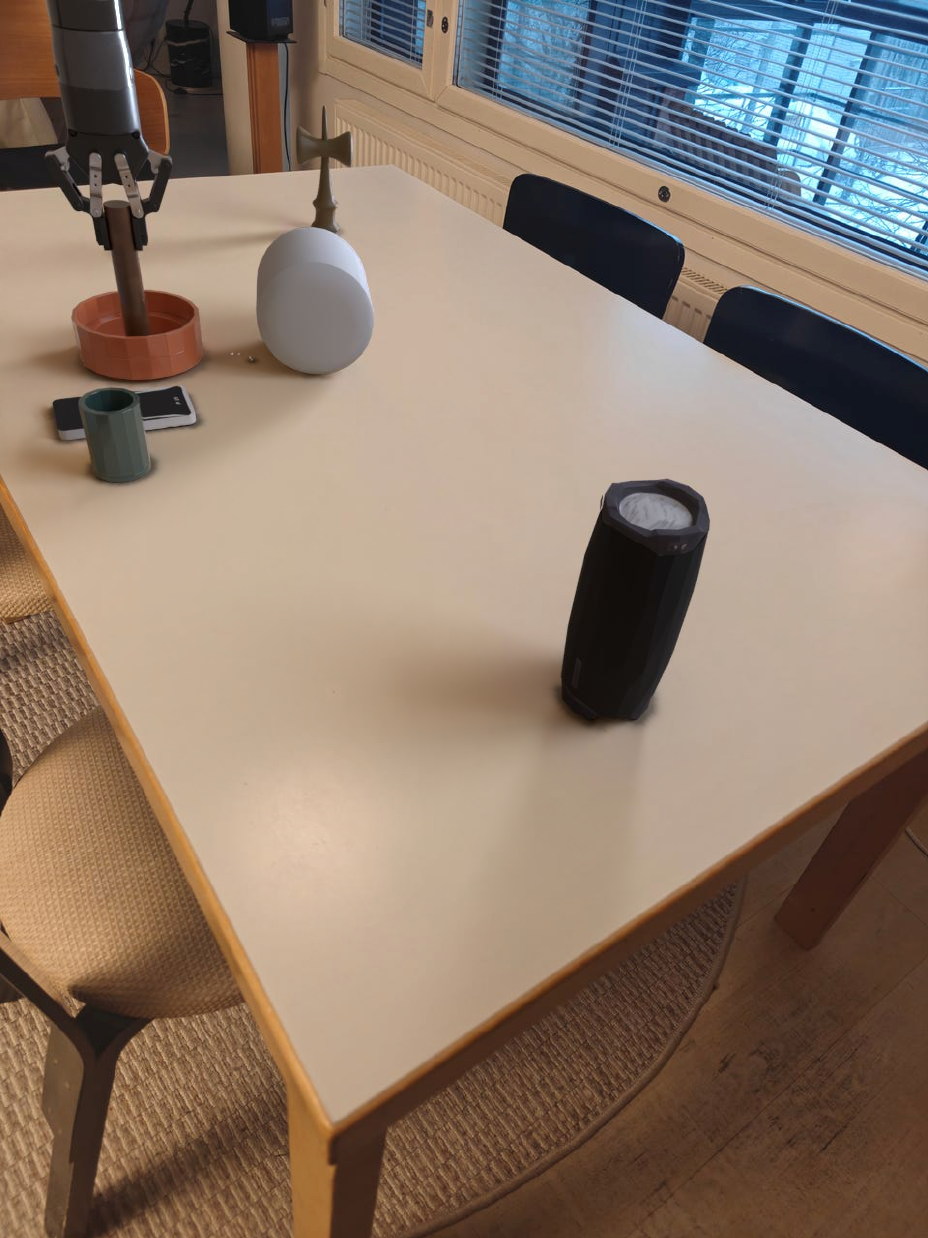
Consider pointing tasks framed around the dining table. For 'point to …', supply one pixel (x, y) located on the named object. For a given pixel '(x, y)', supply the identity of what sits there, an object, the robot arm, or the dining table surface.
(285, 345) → the white oval cylinder
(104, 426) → the holder
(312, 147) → the kendama
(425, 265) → the dining table surface
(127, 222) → the stirring stick
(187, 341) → the bowl
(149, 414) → the smartphone
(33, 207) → the dining table surface
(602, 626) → the portable speaker
